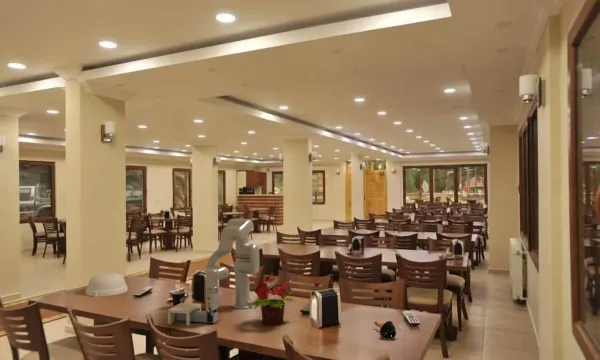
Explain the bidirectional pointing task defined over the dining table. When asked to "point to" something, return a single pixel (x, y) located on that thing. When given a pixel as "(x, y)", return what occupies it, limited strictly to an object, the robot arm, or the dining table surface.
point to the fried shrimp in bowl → (386, 329)
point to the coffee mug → (178, 297)
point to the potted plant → (271, 302)
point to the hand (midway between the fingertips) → (212, 319)
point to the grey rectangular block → (197, 316)
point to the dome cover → (106, 285)
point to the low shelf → (182, 308)
